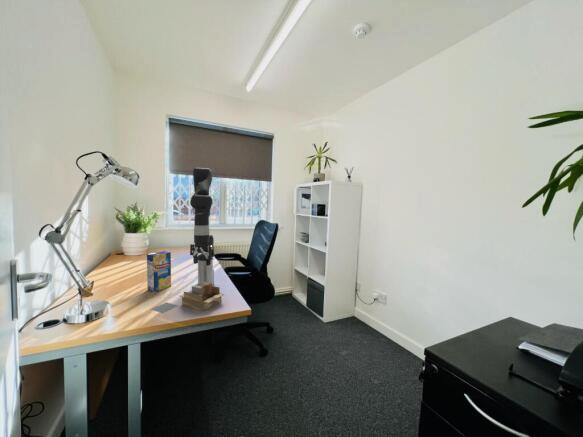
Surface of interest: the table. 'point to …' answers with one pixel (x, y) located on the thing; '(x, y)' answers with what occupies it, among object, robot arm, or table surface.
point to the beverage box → (158, 270)
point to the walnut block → (203, 290)
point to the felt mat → (164, 307)
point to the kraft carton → (196, 300)
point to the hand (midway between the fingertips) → (201, 264)
